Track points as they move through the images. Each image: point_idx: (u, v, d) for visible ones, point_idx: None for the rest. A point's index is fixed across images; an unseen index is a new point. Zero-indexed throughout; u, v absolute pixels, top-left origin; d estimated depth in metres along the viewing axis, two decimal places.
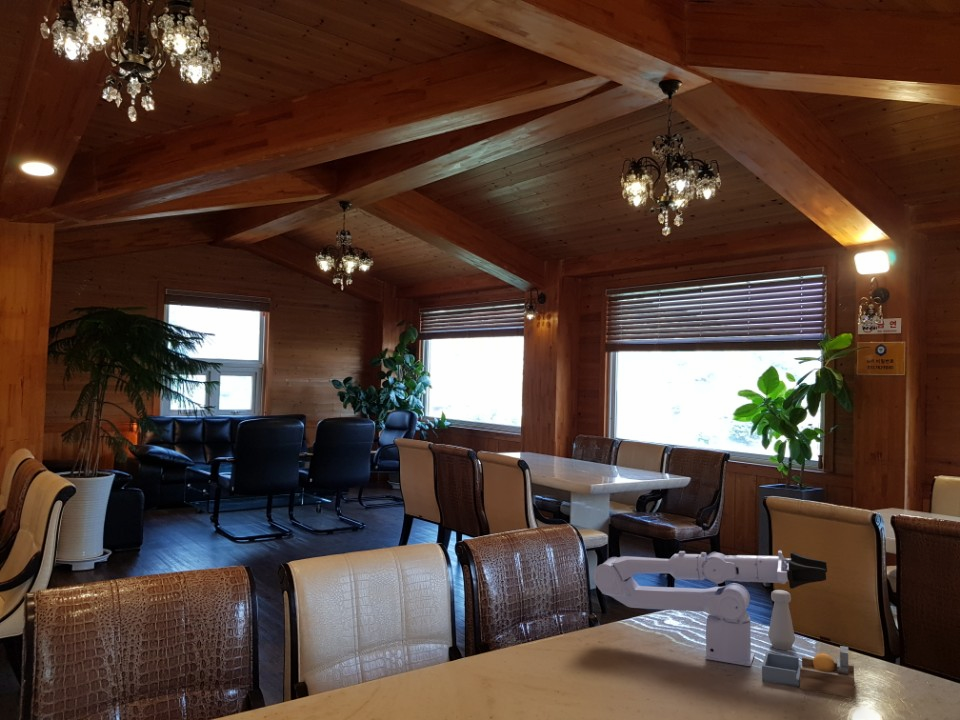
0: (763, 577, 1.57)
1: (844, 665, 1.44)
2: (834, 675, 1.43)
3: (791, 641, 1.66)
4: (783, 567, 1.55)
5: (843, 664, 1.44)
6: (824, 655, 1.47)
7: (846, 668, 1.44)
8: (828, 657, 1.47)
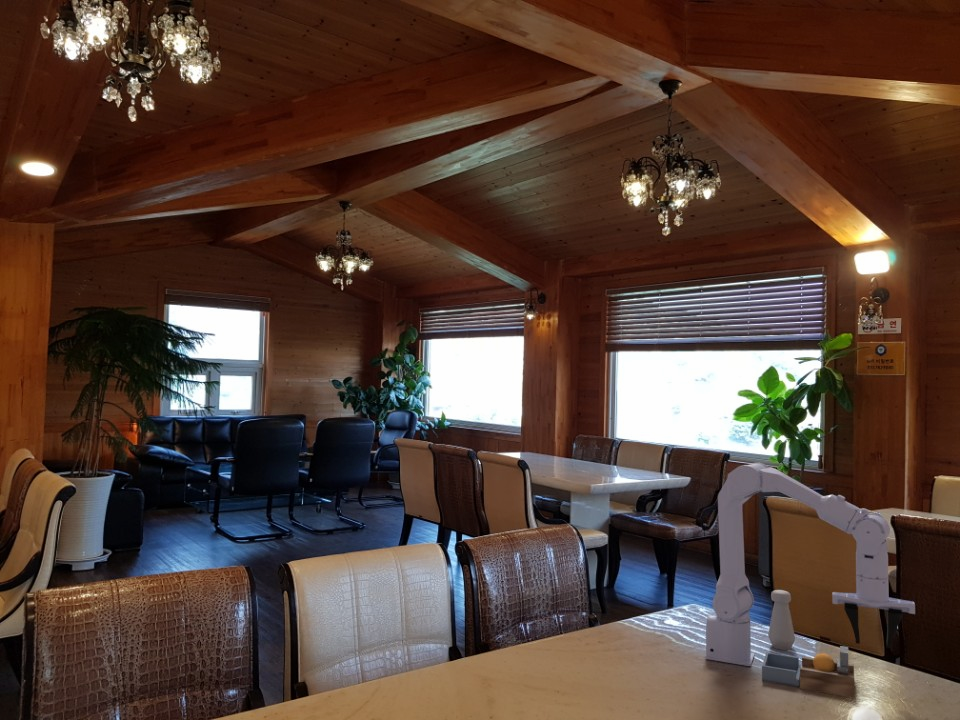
0: None
1: (844, 665, 1.44)
2: (834, 675, 1.43)
3: (791, 641, 1.66)
4: (856, 602, 1.45)
5: (843, 664, 1.44)
6: (824, 655, 1.47)
7: (846, 668, 1.44)
8: (828, 657, 1.47)
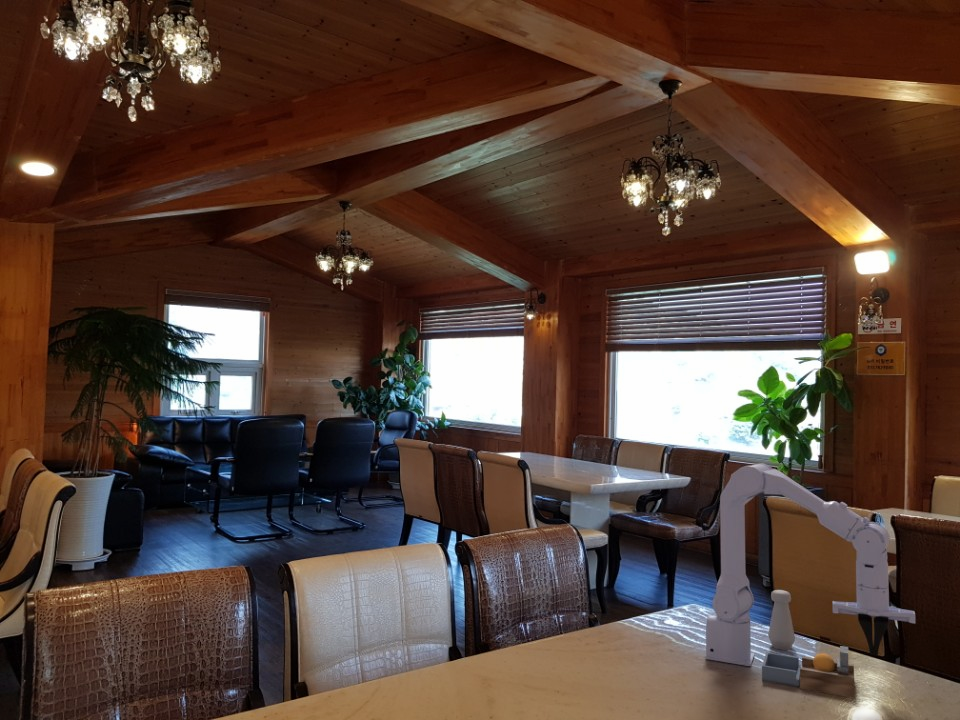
0: None
1: (844, 665, 1.44)
2: (834, 675, 1.43)
3: (791, 641, 1.66)
4: (856, 611, 1.45)
5: (843, 664, 1.44)
6: (824, 655, 1.47)
7: (846, 668, 1.44)
8: (828, 657, 1.47)
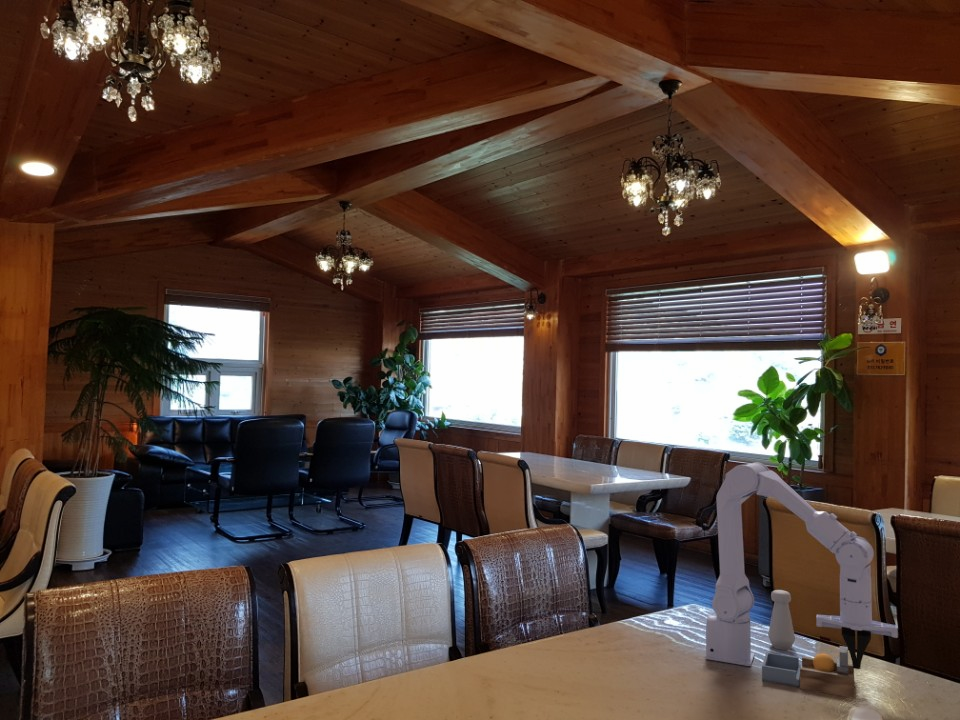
0: None
1: (844, 665, 1.44)
2: (834, 675, 1.43)
3: (791, 641, 1.66)
4: None
5: (843, 664, 1.44)
6: (824, 655, 1.47)
7: (846, 668, 1.44)
8: (828, 657, 1.47)
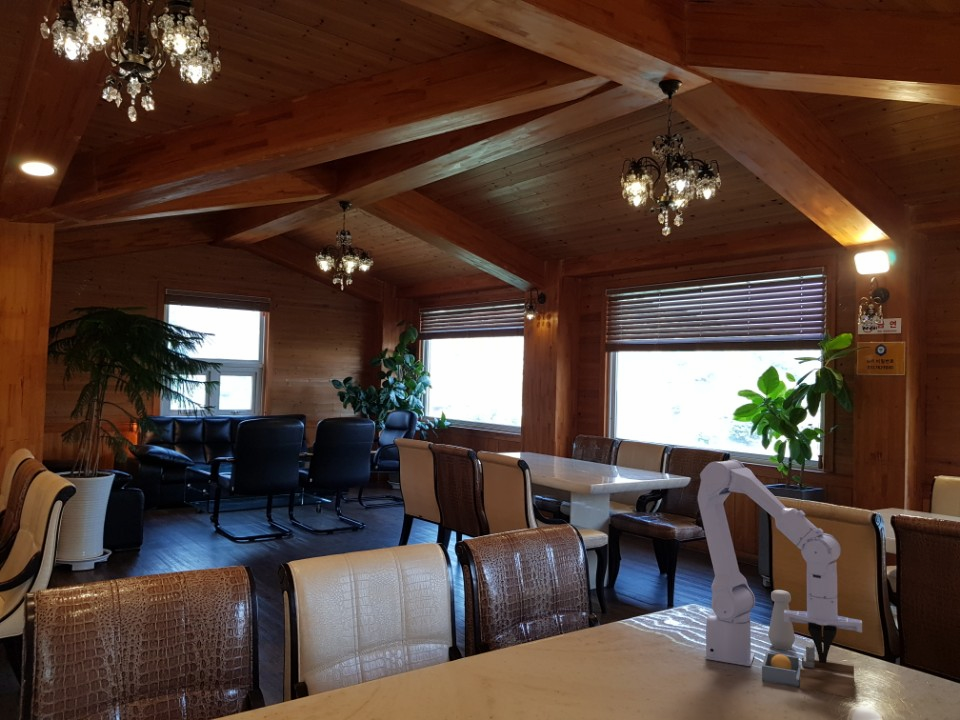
0: None
1: (810, 660, 1.47)
2: (834, 675, 1.43)
3: (791, 641, 1.66)
4: None
5: (809, 659, 1.47)
6: (790, 669, 1.50)
7: (812, 662, 1.46)
8: None
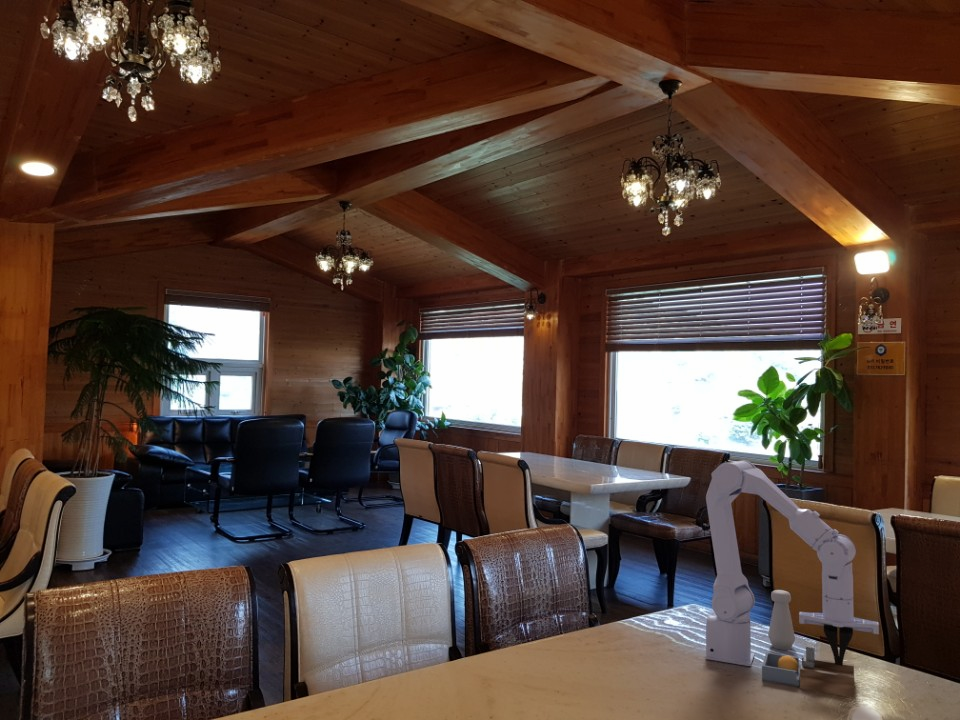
0: None
1: (810, 660, 1.47)
2: (834, 675, 1.43)
3: (791, 641, 1.66)
4: None
5: (809, 659, 1.47)
6: None
7: (812, 662, 1.46)
8: None
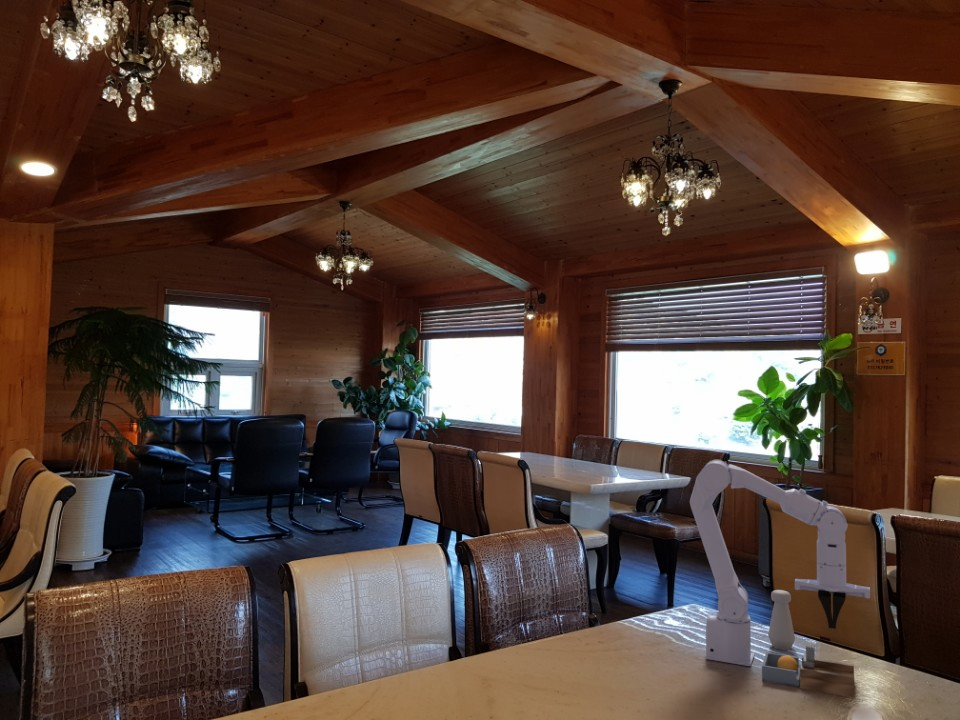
0: None
1: (810, 660, 1.47)
2: (834, 675, 1.43)
3: (791, 641, 1.66)
4: (816, 587, 1.55)
5: (809, 659, 1.47)
6: None
7: (812, 662, 1.46)
8: None
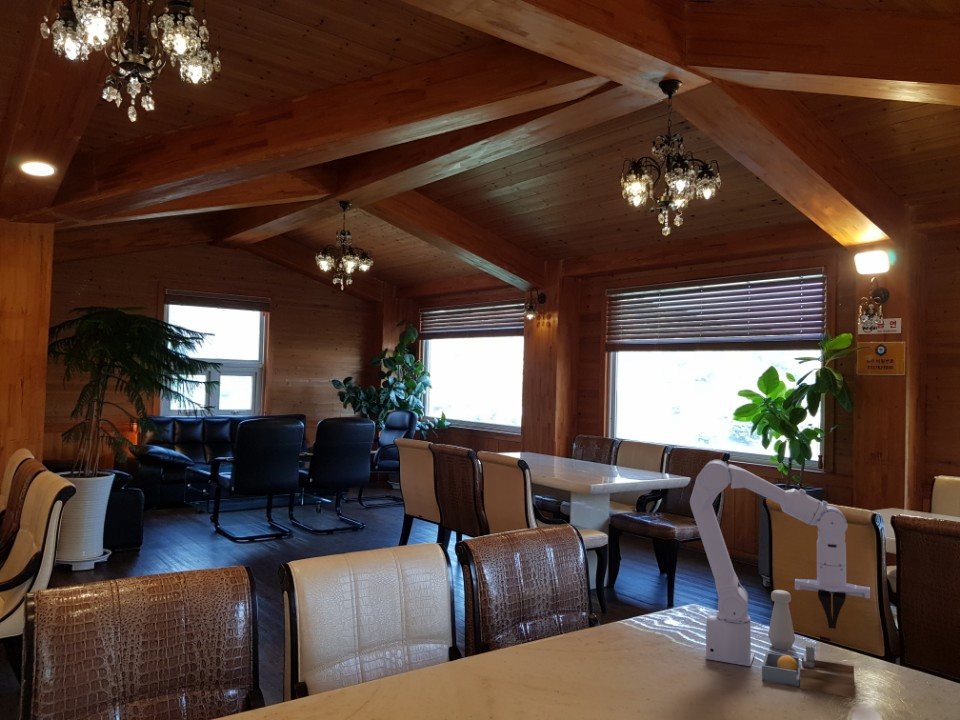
0: None
1: (810, 660, 1.47)
2: (834, 675, 1.43)
3: (791, 641, 1.66)
4: (816, 587, 1.55)
5: (809, 659, 1.47)
6: None
7: (812, 662, 1.46)
8: None
